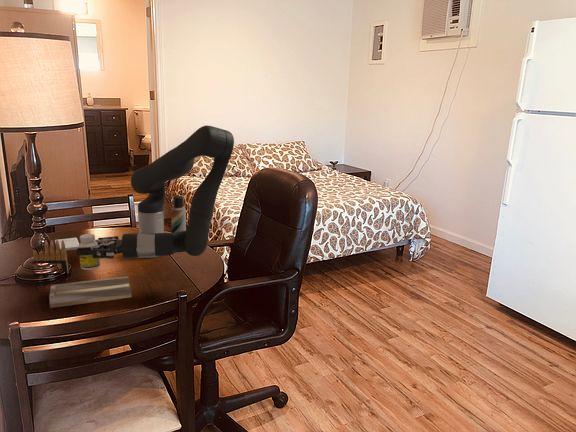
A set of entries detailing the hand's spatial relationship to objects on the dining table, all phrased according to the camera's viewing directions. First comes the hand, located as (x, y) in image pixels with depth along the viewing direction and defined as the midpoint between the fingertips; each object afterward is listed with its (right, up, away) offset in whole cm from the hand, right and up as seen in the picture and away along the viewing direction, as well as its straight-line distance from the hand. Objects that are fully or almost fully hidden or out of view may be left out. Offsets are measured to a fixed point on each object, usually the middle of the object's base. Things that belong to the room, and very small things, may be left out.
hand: (79, 248), depth 132 cm
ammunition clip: (-18, -10, +19) cm, 28 cm away
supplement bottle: (+2, -6, +2) cm, 7 cm away
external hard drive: (-26, -3, +47) cm, 54 cm away
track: (+2, -15, +5) cm, 15 cm away
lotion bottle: (+16, -2, +55) cm, 57 cm away
